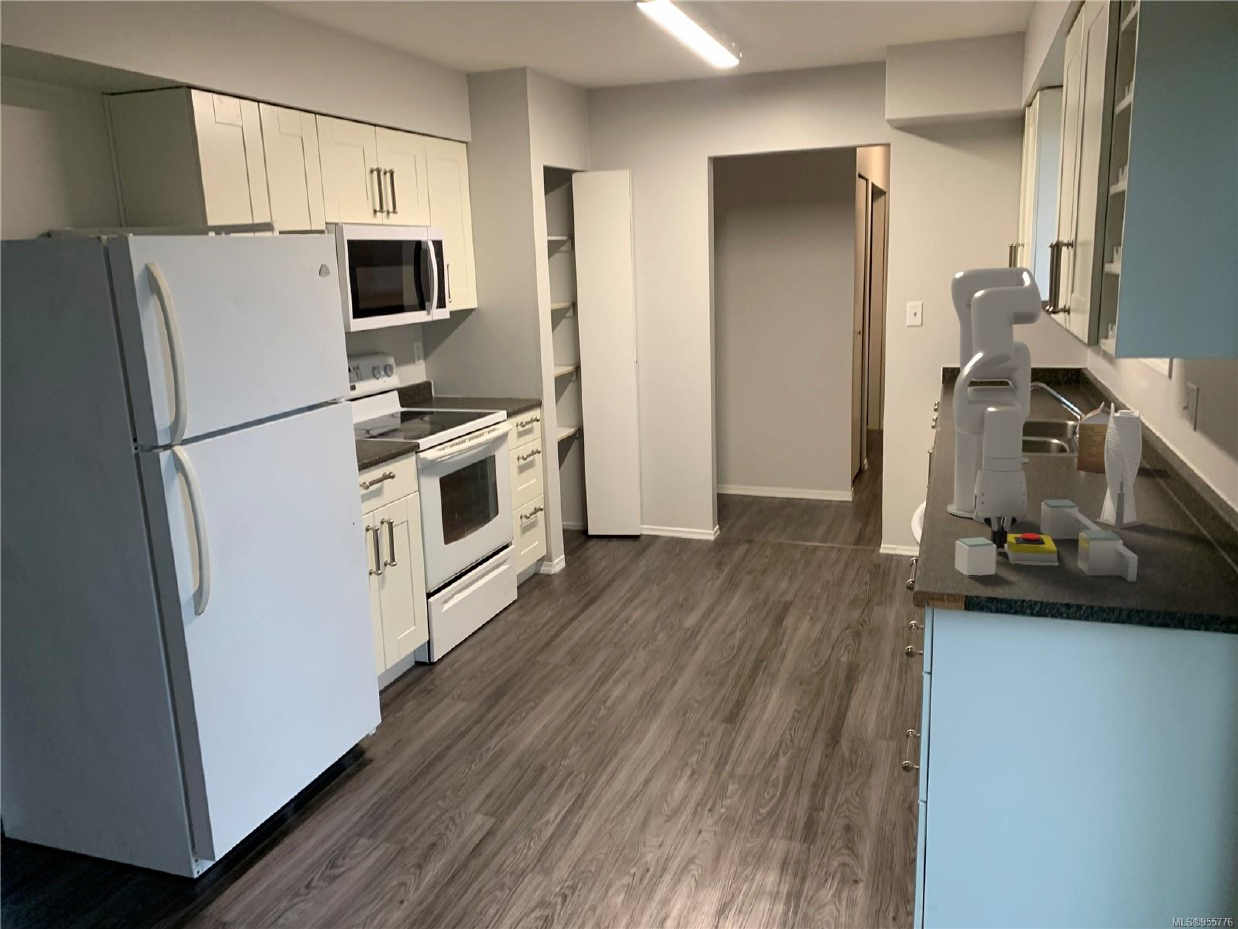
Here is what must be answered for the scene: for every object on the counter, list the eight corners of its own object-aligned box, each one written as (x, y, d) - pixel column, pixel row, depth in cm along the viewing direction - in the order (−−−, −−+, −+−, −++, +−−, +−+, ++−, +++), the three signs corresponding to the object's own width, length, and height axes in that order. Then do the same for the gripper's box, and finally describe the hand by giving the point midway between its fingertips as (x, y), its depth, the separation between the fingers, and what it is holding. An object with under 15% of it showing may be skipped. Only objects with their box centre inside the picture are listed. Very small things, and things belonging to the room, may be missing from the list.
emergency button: (1049, 527, 198) (1060, 548, 184) (1049, 547, 198) (1059, 568, 185) (1004, 526, 200) (1011, 546, 186) (1003, 545, 201) (1010, 566, 187)
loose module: (954, 569, 186) (955, 538, 185) (982, 566, 187) (983, 536, 185) (966, 576, 181) (967, 545, 180) (995, 574, 182) (996, 543, 180)
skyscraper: (1089, 520, 215) (1096, 403, 209) (1115, 515, 218) (1122, 400, 212) (1119, 528, 207) (1127, 407, 202) (1146, 524, 210) (1154, 404, 204)
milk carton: (1117, 473, 260) (1121, 407, 256) (1076, 470, 265) (1080, 406, 262) (1120, 465, 269) (1124, 402, 265) (1080, 463, 274) (1083, 401, 270)
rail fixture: (1035, 527, 212) (1037, 495, 210) (1069, 527, 210) (1071, 495, 209) (1094, 581, 175) (1096, 543, 173) (1136, 581, 174) (1138, 543, 172)
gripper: (1034, 459, 194) (1030, 542, 197) (961, 460, 196) (958, 542, 200) (1044, 467, 186) (1040, 552, 190) (968, 468, 189) (966, 552, 193)
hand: (998, 546), depth 195 cm, fingers closed
